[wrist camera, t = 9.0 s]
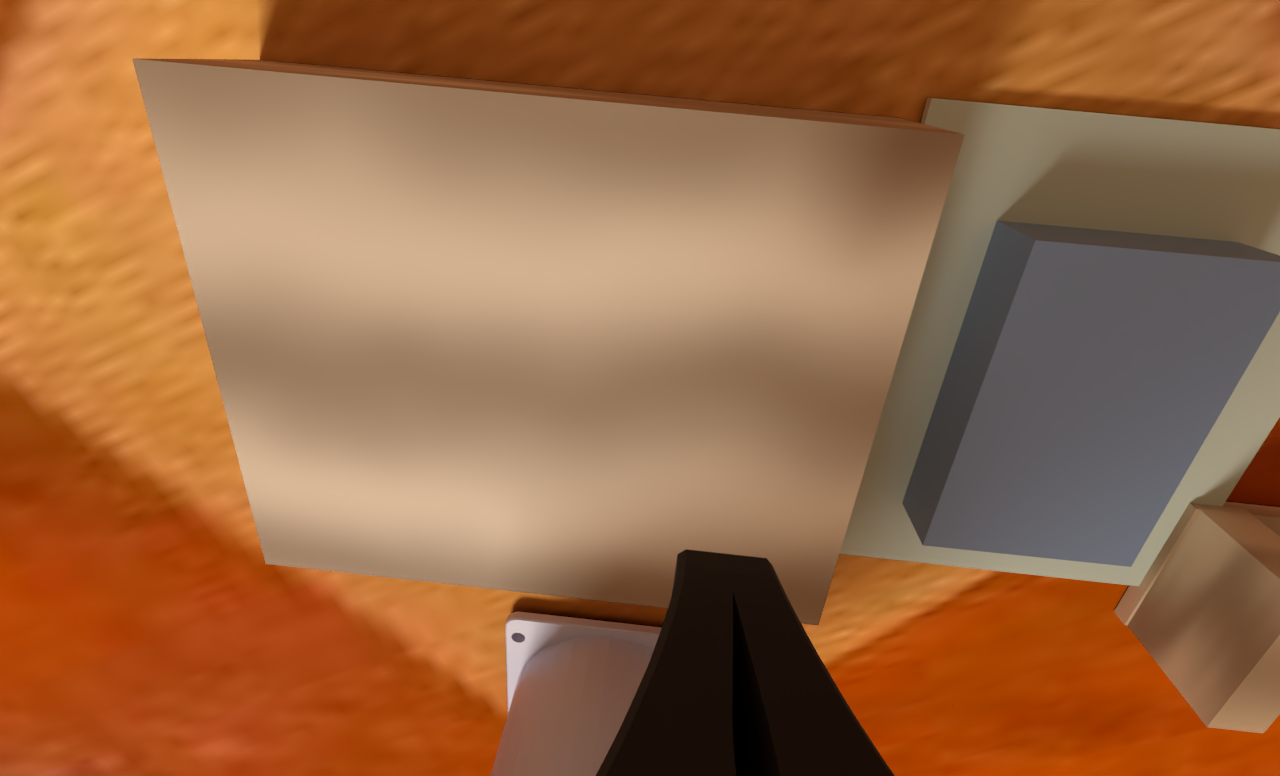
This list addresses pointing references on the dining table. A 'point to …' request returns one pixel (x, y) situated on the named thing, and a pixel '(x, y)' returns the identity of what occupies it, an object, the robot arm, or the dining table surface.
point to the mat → (1082, 198)
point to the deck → (543, 318)
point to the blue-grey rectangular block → (1085, 388)
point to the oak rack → (1216, 613)
